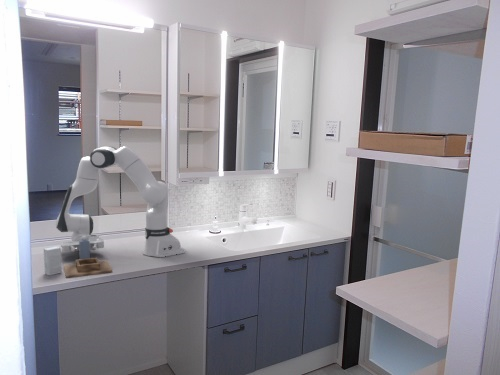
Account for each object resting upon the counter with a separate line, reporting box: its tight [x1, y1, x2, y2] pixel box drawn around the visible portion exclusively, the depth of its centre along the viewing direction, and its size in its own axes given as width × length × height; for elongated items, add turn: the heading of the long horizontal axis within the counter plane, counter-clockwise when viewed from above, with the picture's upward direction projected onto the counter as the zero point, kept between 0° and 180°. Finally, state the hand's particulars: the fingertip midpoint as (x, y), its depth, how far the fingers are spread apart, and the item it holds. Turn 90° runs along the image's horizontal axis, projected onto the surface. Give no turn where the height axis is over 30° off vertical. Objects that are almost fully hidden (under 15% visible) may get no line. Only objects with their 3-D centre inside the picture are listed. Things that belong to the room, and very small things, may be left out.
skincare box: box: [43, 245, 62, 277], centre depth 190 cm, size 6×4×12 cm
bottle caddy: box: [63, 257, 113, 279], centre depth 197 cm, size 20×16×4 cm
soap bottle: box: [78, 236, 91, 259], centre depth 208 cm, size 4×4×13 cm
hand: (84, 249), depth 208 cm, fingers open, 8 cm apart
